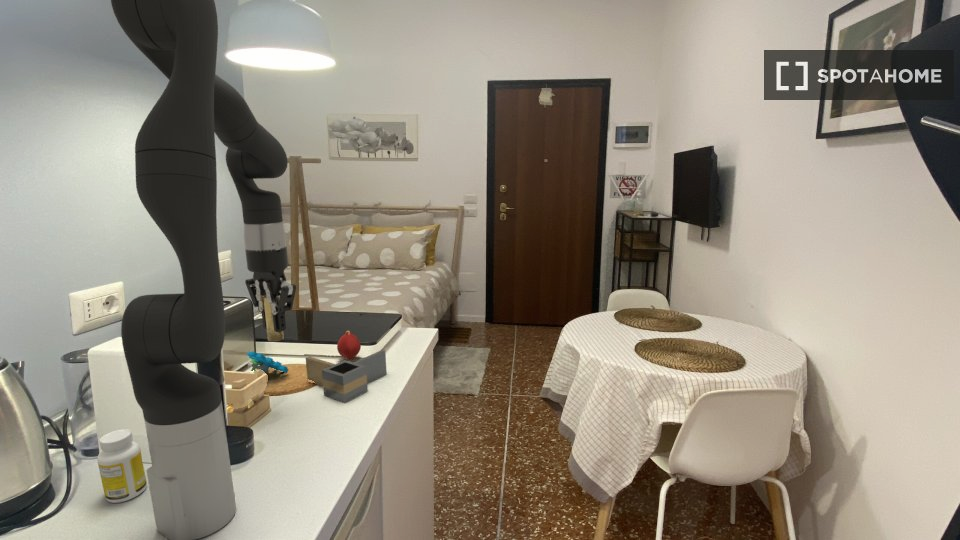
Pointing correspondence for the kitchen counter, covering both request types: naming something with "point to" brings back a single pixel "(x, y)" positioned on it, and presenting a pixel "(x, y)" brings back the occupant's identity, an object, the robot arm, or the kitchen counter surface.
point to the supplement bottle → (121, 466)
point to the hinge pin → (271, 322)
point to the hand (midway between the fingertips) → (274, 329)
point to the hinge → (346, 375)
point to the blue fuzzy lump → (264, 362)
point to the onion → (348, 346)
